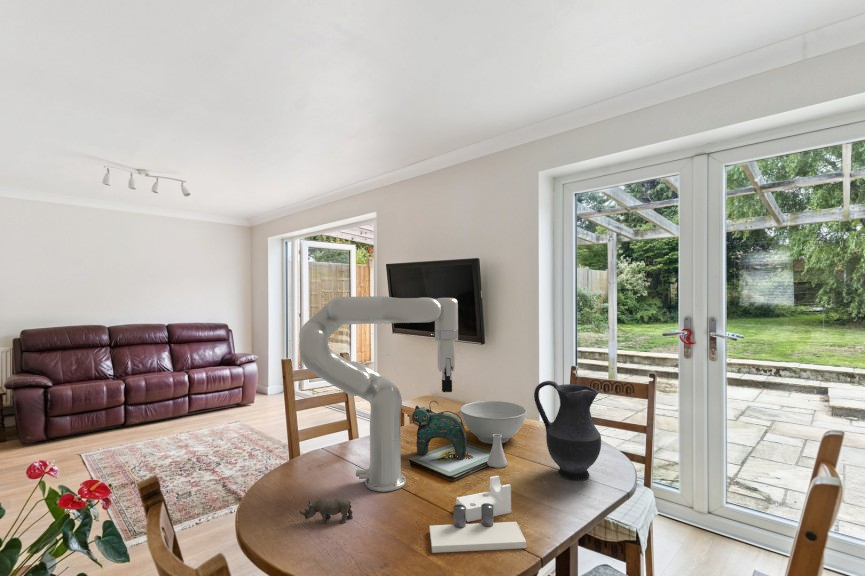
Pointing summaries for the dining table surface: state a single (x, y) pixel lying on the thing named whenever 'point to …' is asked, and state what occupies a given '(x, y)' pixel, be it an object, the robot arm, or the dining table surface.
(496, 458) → the flask
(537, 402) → the pitcher
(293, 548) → the dining table surface
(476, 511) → the bracket
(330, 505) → the rhino figurine
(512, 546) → the board
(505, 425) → the decorative bowl
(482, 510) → the peg
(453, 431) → the cat figurine
